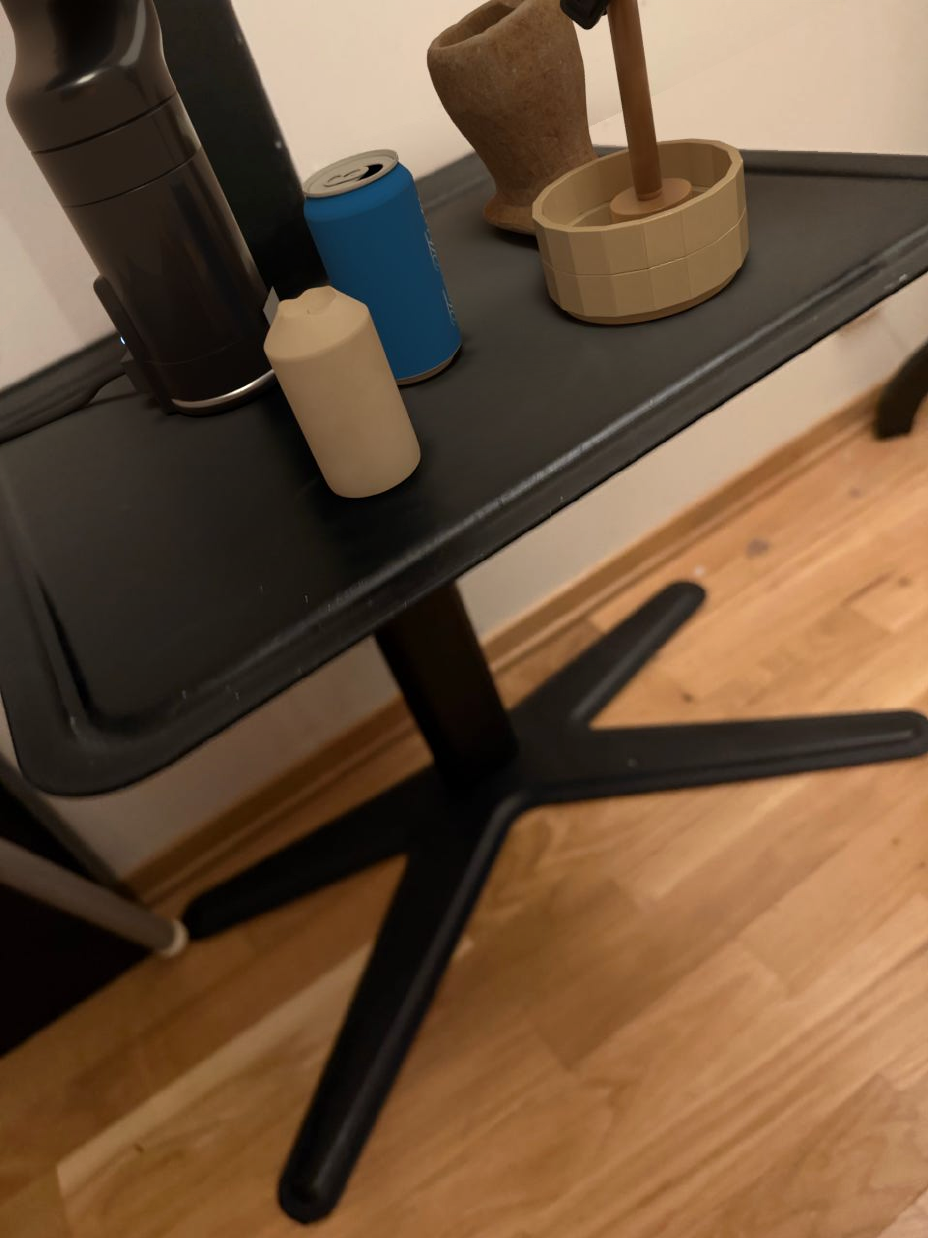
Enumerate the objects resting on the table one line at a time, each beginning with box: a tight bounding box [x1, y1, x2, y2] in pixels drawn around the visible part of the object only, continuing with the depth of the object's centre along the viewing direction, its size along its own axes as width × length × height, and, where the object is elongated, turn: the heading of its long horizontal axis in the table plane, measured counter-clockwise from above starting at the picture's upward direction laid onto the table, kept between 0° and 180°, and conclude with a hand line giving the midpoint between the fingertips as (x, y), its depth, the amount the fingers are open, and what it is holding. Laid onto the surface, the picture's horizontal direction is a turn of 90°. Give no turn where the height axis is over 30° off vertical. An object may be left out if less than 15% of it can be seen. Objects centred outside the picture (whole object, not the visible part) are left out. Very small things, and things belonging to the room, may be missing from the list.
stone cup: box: [426, 0, 600, 237], centre depth 62 cm, size 15×12×15 cm
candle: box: [264, 285, 421, 499], centre depth 46 cm, size 6×6×10 cm
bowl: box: [532, 137, 750, 325], centre depth 55 cm, size 12×12×6 cm
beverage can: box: [301, 148, 463, 386], centre depth 53 cm, size 6×6×12 cm
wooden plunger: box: [606, 0, 693, 224], centre depth 49 cm, size 5×5×17 cm
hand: (583, 10), depth 48 cm, fingers closed on wooden plunger
